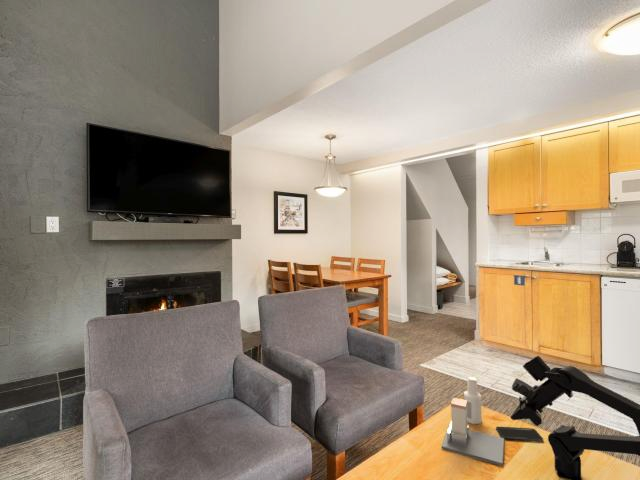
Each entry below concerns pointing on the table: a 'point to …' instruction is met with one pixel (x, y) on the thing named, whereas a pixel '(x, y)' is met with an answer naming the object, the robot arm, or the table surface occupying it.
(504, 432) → the phone
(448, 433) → the friction collar
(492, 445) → the base board
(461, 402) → the tall rectangular pillar
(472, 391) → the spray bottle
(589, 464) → the table surface
